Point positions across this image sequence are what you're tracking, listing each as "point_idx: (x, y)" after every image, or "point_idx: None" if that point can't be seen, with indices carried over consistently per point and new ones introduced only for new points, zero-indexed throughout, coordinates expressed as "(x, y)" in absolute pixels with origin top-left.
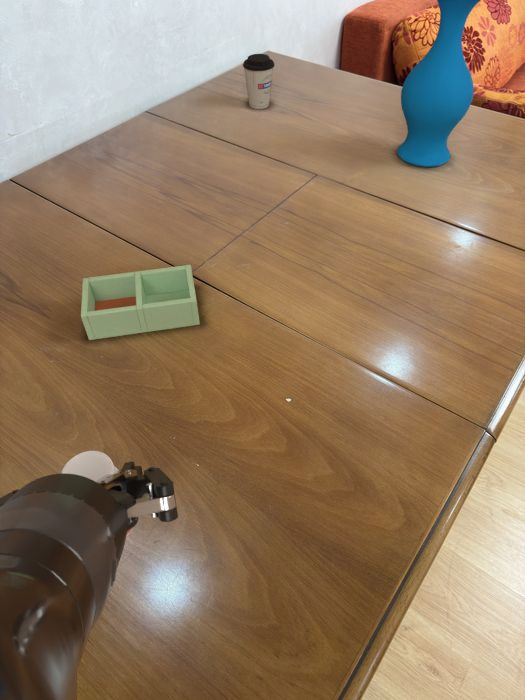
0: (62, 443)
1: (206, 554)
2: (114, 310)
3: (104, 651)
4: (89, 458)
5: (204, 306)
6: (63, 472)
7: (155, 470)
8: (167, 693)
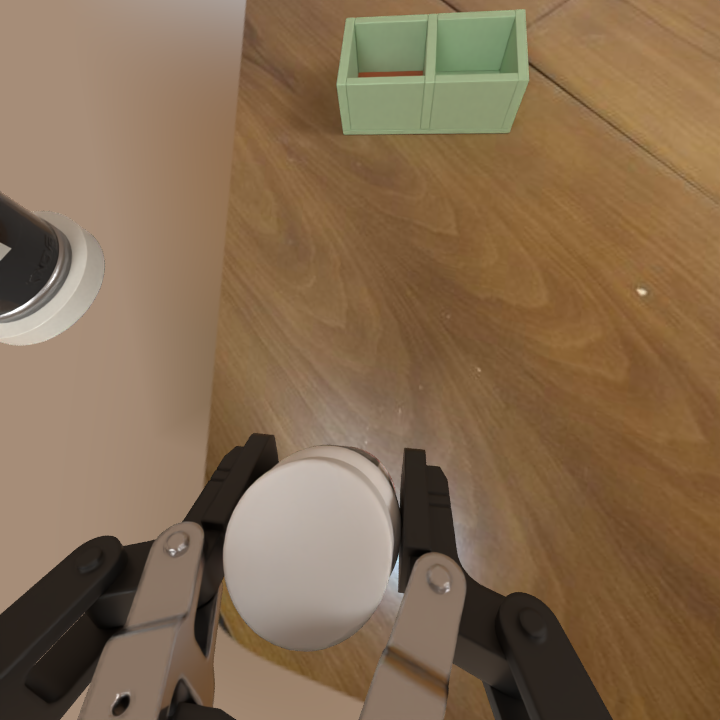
0: (292, 289)
1: (475, 519)
2: (389, 80)
3: None
4: (318, 491)
5: None
6: (234, 524)
7: (556, 654)
8: None
